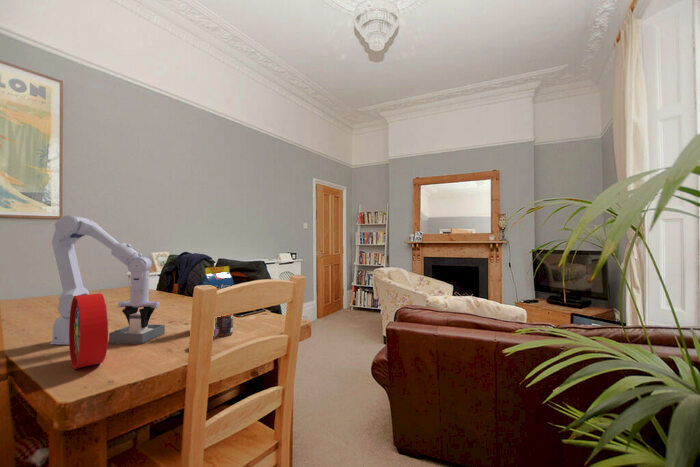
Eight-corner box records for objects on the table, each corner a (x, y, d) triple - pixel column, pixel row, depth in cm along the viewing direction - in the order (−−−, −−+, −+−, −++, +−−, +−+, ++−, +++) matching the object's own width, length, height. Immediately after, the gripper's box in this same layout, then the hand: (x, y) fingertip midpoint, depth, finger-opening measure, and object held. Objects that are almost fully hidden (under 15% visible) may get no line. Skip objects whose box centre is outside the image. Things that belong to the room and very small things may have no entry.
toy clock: (67, 358, 93) (70, 291, 94) (92, 353, 98) (95, 289, 98) (78, 378, 80) (81, 300, 81) (106, 371, 84) (109, 297, 85)
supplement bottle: (236, 333, 120) (236, 304, 120) (222, 337, 115) (223, 307, 115) (226, 331, 123) (227, 302, 123) (212, 335, 118) (213, 305, 118)
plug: (128, 334, 111) (129, 314, 112) (137, 331, 116) (137, 312, 116) (139, 334, 111) (140, 314, 112) (147, 331, 115) (148, 312, 116)
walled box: (108, 343, 107) (109, 333, 108) (134, 333, 119) (134, 324, 120) (142, 344, 107) (142, 333, 107) (164, 333, 119) (164, 324, 119)
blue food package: (198, 329, 125) (200, 267, 126) (222, 322, 136) (224, 265, 137) (209, 331, 123) (210, 268, 123) (233, 324, 133) (234, 266, 134)
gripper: (165, 288, 117) (164, 324, 117) (128, 288, 118) (127, 323, 118) (153, 291, 110) (152, 330, 110) (113, 290, 111) (112, 329, 111)
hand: (138, 327), depth 113 cm, fingers closed on plug, 4 cm apart
